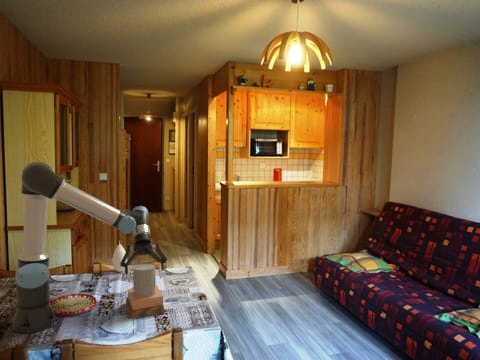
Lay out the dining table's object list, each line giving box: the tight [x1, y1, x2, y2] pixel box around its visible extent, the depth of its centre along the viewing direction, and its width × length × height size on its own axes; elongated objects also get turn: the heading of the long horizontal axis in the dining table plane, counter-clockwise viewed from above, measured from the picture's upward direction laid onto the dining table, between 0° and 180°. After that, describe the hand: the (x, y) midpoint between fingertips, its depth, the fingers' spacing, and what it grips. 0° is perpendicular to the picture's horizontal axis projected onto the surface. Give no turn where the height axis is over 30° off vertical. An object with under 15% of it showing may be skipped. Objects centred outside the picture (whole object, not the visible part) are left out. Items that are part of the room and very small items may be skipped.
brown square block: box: [127, 284, 164, 310], centre depth 164 cm, size 13×13×4 cm
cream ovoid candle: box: [112, 240, 128, 273], centre depth 209 cm, size 8×8×18 cm
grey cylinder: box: [132, 262, 156, 298], centre depth 163 cm, size 10×10×12 cm
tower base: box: [125, 296, 165, 319], centre depth 165 cm, size 15×15×4 cm
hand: (145, 278), depth 161 cm, fingers open, 13 cm apart
